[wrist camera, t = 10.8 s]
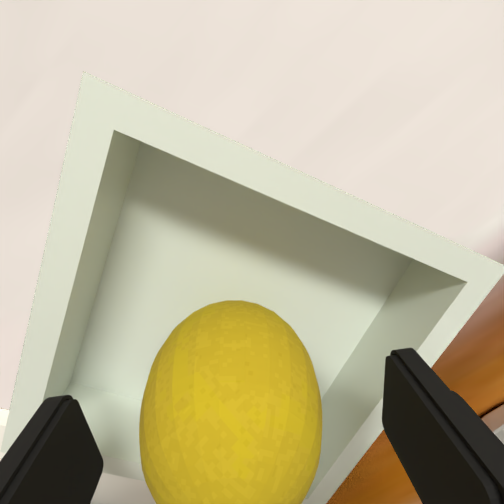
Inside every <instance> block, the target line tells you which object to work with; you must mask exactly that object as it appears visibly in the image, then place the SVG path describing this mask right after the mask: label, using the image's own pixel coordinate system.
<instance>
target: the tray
mask: <svg viewBox="0 0 504 504" xmlns="http://www.w3.org/2000/svg"><path fill="white" fill-rule="evenodd" d="M503 274H504V265H502V264H500V263H498V262H496V261H494V260H492V259H489V258H487V257H485V256H483V255H481V254H479V253H476V252H474V251H472V250H470V249H468V248H466V247H463V246H461V245H459V244H457V243H455V242H453V241H450V240H448V239H446V238H444V237H442V236H440V235H437V234H435V233H433V232H431V231H429V230H427V229H424V228H422V227H420V226H418V225H416V224H414V223H411V222H409V221H407V220H405V219H403V218H400V217H398V216H396V215H394V214H392V213H390V212H387V211H385V210H383V209H381V208H379V207H377V206H374V205H372V204H370V203H368V202H366V201H364V200H361V199H359V198H357V197H355V196H353V195H351V194H348V193H346V192H344V191H342V190H340V189H338V188H335V187H333V186H331V185H329V184H327V183H325V182H322V181H320V180H318V179H316V178H314V177H312V176H309V175H307V174H305V173H303V172H301V171H298V170H296V169H294V168H292V167H290V166H288V165H285V164H283V163H281V162H279V161H277V160H275V159H272V158H270V157H268V156H266V155H264V154H262V153H259V152H257V151H255V150H253V149H251V148H249V147H246V146H244V145H242V144H240V143H238V142H236V141H233V140H231V139H229V138H227V137H225V136H223V135H220V134H218V133H216V132H214V131H212V130H210V129H207V128H205V127H203V126H201V125H199V124H196V123H194V122H192V121H190V120H188V119H186V118H183V117H181V116H179V115H177V114H175V113H173V112H170V111H168V110H166V109H164V108H162V107H160V106H157V105H155V104H153V103H151V102H149V101H147V100H144V99H142V98H140V97H138V96H136V95H134V94H131V93H129V92H127V91H125V90H123V89H121V88H118V87H116V86H114V85H112V84H110V83H108V82H105V81H103V80H101V79H99V78H97V77H94V76H92V75H90V74H88V73H86V72H84V71H83V75H82V80H81V84H80V89H79V93H78V98H77V102H76V107H75V112H74V116H73V121H72V125H71V130H70V135H69V139H68V144H67V148H66V153H65V157H64V162H63V167H62V171H61V176H60V180H59V185H58V189H57V194H56V199H55V203H54V208H53V212H52V217H51V222H50V226H49V231H48V235H47V240H46V244H45V249H44V254H43V258H42V263H41V267H40V272H39V276H38V281H37V286H36V290H35V295H34V299H33V304H32V309H31V313H30V318H29V322H28V327H27V331H26V336H25V341H24V345H23V350H22V354H21V359H20V363H19V368H18V373H17V377H16V382H15V386H14V391H13V396H12V400H11V405H10V409H9V414H8V418H7V423H6V428H5V432H4V437H3V441H2V446H1V450H0V452H3V453H6V452H7V451H8V450H9V448H10V447H11V446H12V444H13V443H14V441H15V440H16V439H17V437H18V436H19V434H20V433H21V432H22V430H23V429H24V427H25V426H26V425H27V423H28V422H29V420H30V419H31V418H32V416H33V415H34V414H35V412H36V411H37V409H38V408H39V407H40V405H41V404H42V402H43V401H44V400H45V399H47V398H48V397H55V396H62V395H71V396H72V397H73V399H76V400H78V402H79V404H80V407H81V409H82V411H83V414H84V416H85V418H86V421H87V423H88V425H89V428H90V430H91V432H92V435H93V437H94V439H95V442H96V444H97V446H98V448H99V451H100V453H101V455H102V458H103V463H104V464H103V471H102V473H107V474H112V475H117V476H122V477H127V478H131V479H136V480H141V481H145V478H144V475H143V471H142V465H141V457H140V444H139V422H140V411H141V404H142V399H143V394H144V390H145V387H146V383H147V380H148V376H149V373H150V370H151V366H152V364H153V362H154V359H155V357H156V355H157V353H158V351H159V350H160V348H161V347H162V345H163V344H164V342H165V341H166V340H167V338H168V337H169V335H170V334H171V332H172V331H173V330H174V328H175V327H176V326H177V325H178V324H180V323H181V322H182V321H183V320H184V319H186V318H187V317H188V316H189V315H190V314H192V313H193V312H194V311H197V310H199V309H201V308H203V307H205V306H207V305H209V304H212V303H217V302H221V301H226V300H243V301H247V302H252V303H256V304H259V305H261V306H263V307H265V308H267V309H269V310H271V311H274V312H275V313H276V314H277V315H278V316H280V317H281V318H282V319H283V320H284V321H285V322H287V323H288V324H289V325H290V326H291V327H292V329H293V330H294V331H295V333H296V334H297V336H298V337H299V339H300V340H301V342H302V343H303V345H304V346H305V348H306V350H307V352H308V354H309V356H310V358H311V361H312V364H313V367H314V371H315V375H316V378H317V382H318V386H319V390H320V396H321V403H322V441H321V453H320V459H319V465H318V468H317V471H316V474H315V478H314V480H313V482H312V484H311V487H310V489H309V491H308V493H307V495H306V497H305V498H304V500H303V502H302V503H301V504H326V503H327V502H328V500H329V499H330V498H331V497H332V495H333V494H334V493H335V491H336V490H337V489H338V487H339V486H340V485H341V484H342V482H343V481H344V480H345V478H346V477H347V476H348V475H349V473H350V472H351V471H352V469H353V468H354V467H355V465H356V464H357V463H358V462H359V460H360V459H361V458H362V456H363V455H364V454H365V453H366V451H367V450H368V449H369V447H370V446H371V445H372V443H373V442H374V441H375V440H376V438H377V437H378V436H379V434H380V433H381V432H382V431H383V429H384V428H383V424H382V407H383V391H384V374H385V359H386V356H390V353H391V351H392V350H397V349H404V348H413V349H414V350H415V351H416V352H417V353H418V354H419V355H420V356H421V357H422V359H423V360H424V361H425V362H426V363H427V364H428V365H429V367H430V368H431V367H432V366H433V364H434V363H435V362H436V361H437V359H438V358H439V357H440V355H441V354H442V353H443V352H444V350H445V349H446V348H447V346H448V345H449V344H450V342H451V341H452V340H453V339H454V337H455V336H456V335H457V333H458V332H459V331H460V330H461V328H462V327H463V326H464V324H465V323H466V322H467V320H468V319H469V318H470V317H471V315H472V314H473V313H474V311H475V310H476V309H477V308H478V306H479V305H480V304H481V302H482V301H483V300H484V298H485V297H486V296H487V295H488V293H489V292H490V291H491V289H492V288H493V287H494V286H495V284H496V283H497V282H498V280H499V279H500V278H501V276H502V275H503Z"/></svg>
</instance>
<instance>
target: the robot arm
mask: <svg viewBox="0 0 504 504" xmlns="http://www.w3.org/2000/svg"><path fill="white" fill-rule="evenodd" d="M382 424H383V428H384V431H385V433H386V435H387V437H388V439H389V440H390V442H391V444H392V446H393V448H394V450H395V452H396V454H397V456H398V458H399V459H400V461H401V463H402V465H403V467H404V469H405V471H406V473H407V475H408V477H409V478H410V480H411V482H412V484H413V486H414V488H415V490H416V492H417V494H418V495H419V497H420V499H421V501H422V503H423V504H504V404H503V405H501V406H500V407H498V408H496V409H495V410H493V411H491V412H490V413H488V414H486V415H485V416H484V417H482V418H480V417H479V416H478V415H477V414H476V413H475V412H474V411H473V409H472V408H471V407H470V406H469V405H468V404H467V403H466V402H465V401H464V399H463V398H462V397H461V396H459V395H458V394H457V393H456V392H454V391H450V389H449V388H448V387H447V386H446V385H445V384H444V383H443V381H442V380H441V379H440V378H439V377H438V376H437V375H436V373H435V372H434V371H433V370H432V369H431V368H430V367H429V365H428V364H427V363H426V362H425V361H424V360H423V359H422V357H421V356H420V355H419V354H418V353H417V352H416V351H415V350H414V349H413V348H404V349H397V350H392V351H391V353H390V356H386V359H385V374H384V391H383V407H382ZM103 464H104V463H103V458H102V455H101V453H100V451H99V448H98V446H97V444H96V442H95V439H94V437H93V435H92V432H91V430H90V428H89V425H88V423H87V421H86V418H85V416H84V414H83V411H82V409H81V407H80V404H79V402H78V400H76V399H73V397H72V396H71V395H62V396H55V397H48V398H47V399H45V400H44V401H43V402H42V404H41V405H40V407H39V408H38V409H37V411H36V412H35V414H34V415H33V416H32V418H31V419H30V420H29V422H28V423H27V425H26V426H25V427H24V429H23V430H22V432H21V433H20V434H19V436H18V437H17V439H16V440H15V441H14V443H13V444H12V446H11V447H10V448H9V450H8V451H7V452H6V454H5V455H4V457H3V458H2V459H1V461H0V504H90V503H91V500H92V498H93V495H94V493H95V490H96V488H97V485H98V482H99V480H100V477H101V475H102V471H103Z"/></svg>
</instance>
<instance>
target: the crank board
mask: <svg viewBox="0 0 504 504" xmlns="http://www.w3.org/2000/svg"><path fill="white" fill-rule="evenodd" d="M8 414H9V410H6V409H1V408H0V450H1V446H2V441H3V437H4V432H5V428H6V423H7V418H8ZM5 454H6V453H3V452H0V461H1V459H2V458H3V457H4V455H5ZM90 504H156V502H155V500H154V499H153V497H152V495H151V493H150V490H149V488H148V486H147V484H146V481H141V480H136V479H131V478H127V477H122V476H117V475H112V474H107V473H102V475H101V477H100V480H99V482H98V485H97V488H96V490H95V493H94V495H93V498H92V500H91V503H90Z"/></svg>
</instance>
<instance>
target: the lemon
mask: <svg viewBox="0 0 504 504" xmlns="http://www.w3.org/2000/svg"><path fill="white" fill-rule="evenodd" d="M321 441H322V403H321V396H320V390H319V386H318V382H317V378H316V375H315V371H314V367H313V364H312V361H311V358H310V356H309V354H308V352H307V350H306V348H305V346H304V345H303V343H302V342H301V340H300V339H299V337H298V336H297V334H296V333H295V331H294V330H293V329H292V327H291V326H290V325H289V324H288V323H287V322H285V321H284V320H283V319H282V318H281V317H280V316H278V315H277V314H276V313H275V312H274V311H271V310H269V309H267V308H265V307H263V306H261V305H259V304H256V303H252V302H247V301H243V300H226V301H221V302H217V303H212V304H209V305H207V306H205V307H203V308H201V309H199V310H197V311H194V312H193V313H192V314H190V315H189V316H188V317H187V318H186V319H184V320H183V321H182V322H181V323H180V324H178V325H177V326H176V327H175V328H174V330H173V331H172V332H171V334H170V335H169V337H168V338H167V340H166V341H165V342H164V344H163V345H162V347H161V348H160V350H159V351H158V353H157V355H156V357H155V359H154V362H153V364H152V366H151V370H150V373H149V376H148V380H147V383H146V387H145V390H144V394H143V399H142V404H141V411H140V422H139V444H140V457H141V465H142V471H143V475H144V478H145V481H146V484H147V486H148V488H149V490H150V493H151V495H152V497H153V499H154V500H155V502H156V504H301V503H302V502H303V500H304V498H305V497H306V495H307V493H308V491H309V489H310V487H311V484H312V482H313V480H314V478H315V474H316V471H317V468H318V465H319V459H320V453H321Z"/></svg>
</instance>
